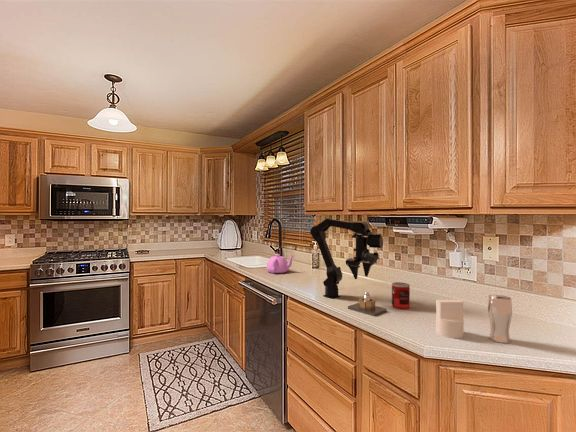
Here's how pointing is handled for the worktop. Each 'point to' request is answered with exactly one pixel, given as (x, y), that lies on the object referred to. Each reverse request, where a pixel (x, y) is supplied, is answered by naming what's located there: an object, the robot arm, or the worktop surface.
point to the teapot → (278, 264)
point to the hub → (367, 304)
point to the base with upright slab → (449, 318)
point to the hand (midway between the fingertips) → (361, 277)
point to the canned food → (400, 295)
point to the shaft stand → (370, 312)
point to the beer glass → (500, 317)
